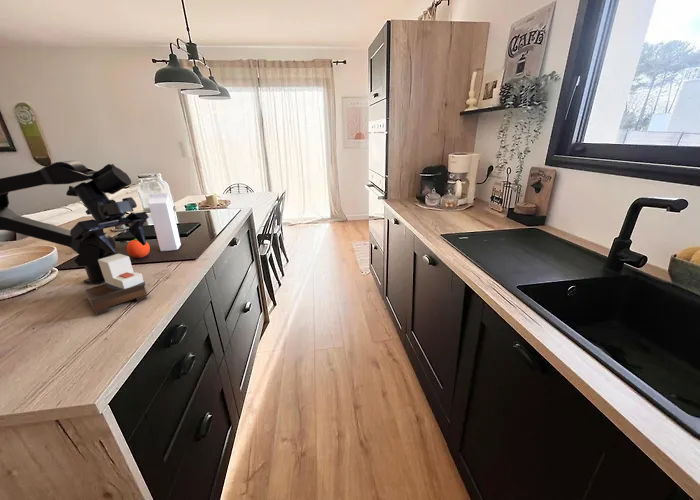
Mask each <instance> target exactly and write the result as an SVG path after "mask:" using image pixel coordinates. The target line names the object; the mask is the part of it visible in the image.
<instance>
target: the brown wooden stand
mask: <svg viewBox="0 0 700 500" xmlns="http://www.w3.org/2000/svg"><path fill="white" fill-rule="evenodd" d="M83 291H84V295H85V296H86V298H87V300H88V302H89V304H90V305H91V307H92V309H93V311H94V312H95V313H96V315H97V316H100V315H104V314H106V313H108V312H109V308H110V307H114V306H117V305H119V304H122V303H125V302H128V301H131V300H135V301H136V302H137V303H138V302H142V301H145V300H148V297H147V295H148V294H147V290H146V287H145V286H144V284H143V283H142V284H139V285H136V286H132V287H129V288H126V289H122V290H119V291H116V290H114V289H111V288H108V287H106V284H105V283H102V284H99V285H96V286H93V287H88V288H86V289H83Z"/></svg>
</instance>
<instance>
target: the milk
mask: <svg viewBox="0 0 700 500" xmlns="http://www.w3.org/2000/svg"><path fill="white" fill-rule="evenodd" d="M148 195H149V200H148V208H149V212H150V216H151V219H152V223H153V227H154V233H155V235H156V239H157V244H158V246H159V251H160V252H168V251H170V252H171V251H177V250H179V249H180V248H181V246H182V243H181V237H180V233H179V229H178V225H177V220H176V216H175V212H174V208H173V203H172V200H171V198H169V196H168V193H167V192H158V193H157V192H156V193H149V194H148Z"/></svg>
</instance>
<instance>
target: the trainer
mask: <svg viewBox="0 0 700 500" xmlns="http://www.w3.org/2000/svg"><path fill="white" fill-rule="evenodd" d="M98 262H99V265H100V268H101V271H102V274H103V277H104V279H105V282H104V284H106V287H108V288H111V289H114V290H116V291H119V290H122V289H126V288H129V287H132V286H136V285H139V284H142V283H143V284H144V286H147V284H146V282H145V281H144V277H143V275H142V273H140V272H137V271H134V269H133V265H132V262H131V258H130V255H129V256H128V255H125V254H122V253H115V254H114V255H113V254H112V255H110V256H109V257H105V258H102V259H99V260H98Z"/></svg>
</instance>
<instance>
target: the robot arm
mask: <svg viewBox="0 0 700 500" xmlns="http://www.w3.org/2000/svg"><path fill="white" fill-rule="evenodd" d="M85 181H87V182H85ZM76 183H79V184H76ZM71 184H76V185H75V186H74V185H73V186H72V185H71ZM131 184H132V180H131V178H130V176H129V175H128V174H127V172H125V171H123V170H122V169H121V168H119V167H117V166H116V165H115V163H108V164H106V165H104V166H103V167H102V168H101V169H98V170H95V169H93V168H90V167H87V166H86V165H85V164H84V163H82V162H80V161H78V160H66V161H65V160H64V161H56V162H53V163H51V164H48V165H46V166H43V167H42V168H40V169H38V170H36V171H31V172H26V173H20V174H16V175H11V176H6V177H1V178H0V231H8V232H12V233H15V234H19V235H23V236H27V237H31V238H34V239H38V240H41V241H45V242H49V243H53V244H57V245H60V246H65V247H68V248H71V250H72V251H74V252H75V253H76V254H78V255H77V256H76V257H75V259H74V260H73V261H74V262H75V264H76V265H77V267H84V269H85V272H86V275H87V278H85V279H84V280H83V282H84V283H90V284H99V285H102V284H104V283H106V282H105V279H104V277H103V274H102V271H101V268H100V265H99V262H98V260H99V259H102V258H105V257H109V256H112V255H116V254H117V251H116V250H115V248H116V240H114V238H113V237H112V236H111V235H108V233H107V232H105V231H104V230H105V229H110V228H114V227H119V226H123V225H125V227H128V228H127V231H128V232H129V233H130V235H132V236H133V237H134V239H137V240H138V241H139V242H140V243H141V244H142V245H145V244H146V242H147V241H146V237H145V232H144V224H145V223H147V219H149V215H148V213H147V212H146V211H145V210H136V211H134V209H135V208H137V202H136V201H135V199H134V198H133V197H132V196H129V197H124V198H122V199H121V200H122V201H116V200H115V199H110V198H109V196H108V195H107V194H110V195H114V194H116V193H118V192H120V191H122V190H123V189H125V188H127V187H128V186H130V185H131ZM45 185H46V186H47V185H48V186H49V185H51V186H53V185H54V186H55V185H57V186H58V185H69V186H68V189H67V191H66V193H65V194H66V196H69V197H77V198H78V199H79V200H80V201H81V203H82V204H83V205H84V207H85V208H86V210H85V214H86V215H87V216H89V215H91V216H92V219H87V220H82V221H81V220H80V221H78V222H77V223H76V224H75V225H74V226H73V227H72V228H70V229H69V228H68V229H67V228H64V227H60V226H57V225H54V224H50V223H47V222H43V221H40V220H35V219H32V218H28V217H26V216H21V215H18V214H17V213H16V212H15V211H14V210H13V209H11V208H10V207H9V205H10V200H9V193H11V192H17V191H20V190H26V189H31V188H35V187H36V188H37V187H40V186H45ZM127 212H130V213H129V214H127Z"/></svg>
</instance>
